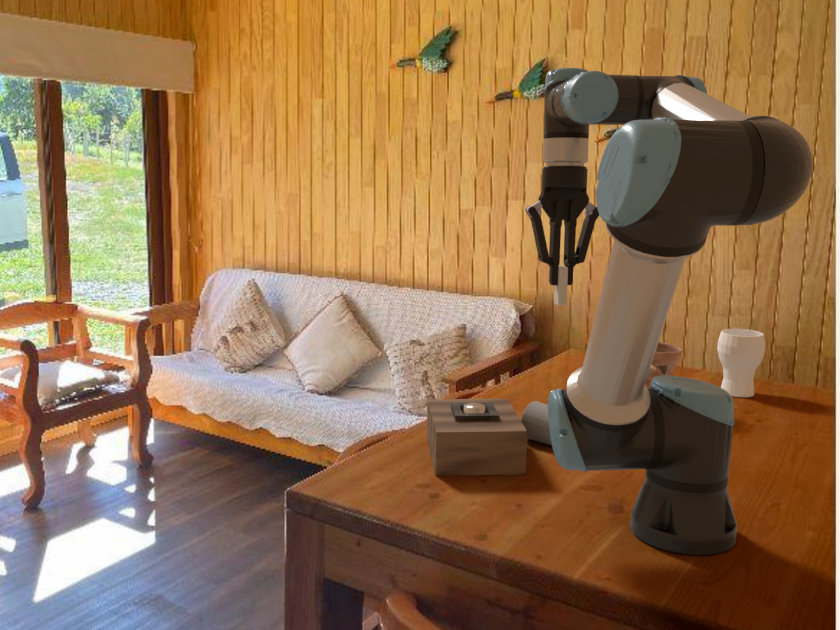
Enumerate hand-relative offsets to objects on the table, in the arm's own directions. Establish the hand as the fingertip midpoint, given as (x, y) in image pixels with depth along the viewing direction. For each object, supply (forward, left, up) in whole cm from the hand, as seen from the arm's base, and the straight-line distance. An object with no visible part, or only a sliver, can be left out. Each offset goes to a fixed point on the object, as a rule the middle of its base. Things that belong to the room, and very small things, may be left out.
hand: (560, 304), depth 141 cm
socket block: (+9, +13, -30) cm, 34 cm away
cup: (+48, -56, -31) cm, 80 cm away
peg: (+9, +13, -29) cm, 33 cm away
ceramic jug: (+39, -31, -31) cm, 59 cm away
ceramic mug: (+16, -3, -31) cm, 35 cm away
